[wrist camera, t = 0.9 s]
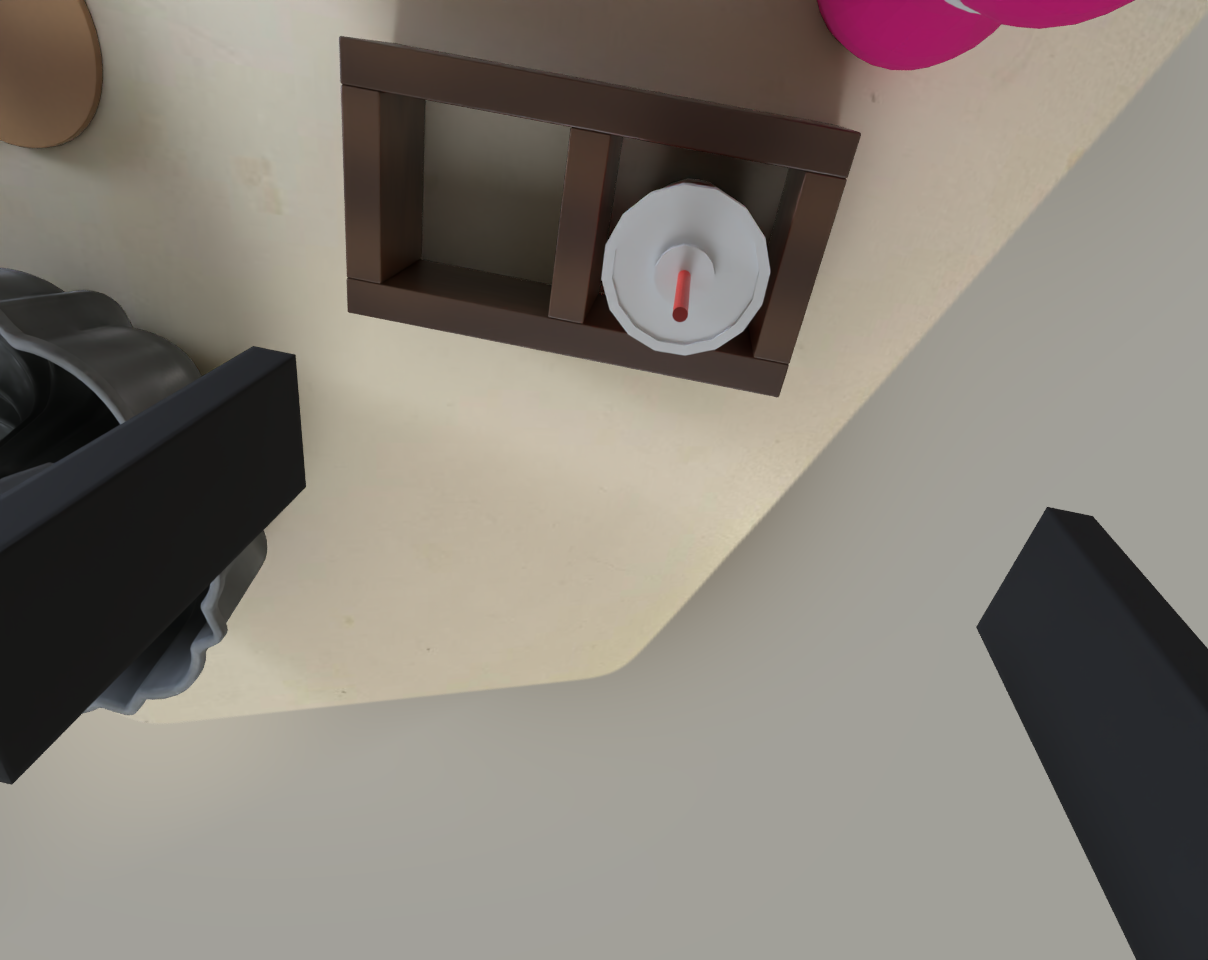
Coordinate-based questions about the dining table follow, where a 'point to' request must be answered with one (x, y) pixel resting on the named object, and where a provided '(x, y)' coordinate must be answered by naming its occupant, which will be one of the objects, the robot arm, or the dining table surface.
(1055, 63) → the dining table surface
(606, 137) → the holder
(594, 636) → the dining table surface
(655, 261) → the beverage cup
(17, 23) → the coaster
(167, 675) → the bundt pan
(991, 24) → the pepper mill
